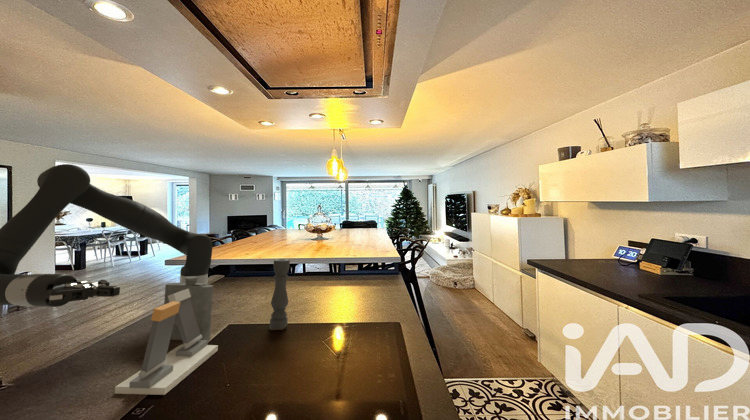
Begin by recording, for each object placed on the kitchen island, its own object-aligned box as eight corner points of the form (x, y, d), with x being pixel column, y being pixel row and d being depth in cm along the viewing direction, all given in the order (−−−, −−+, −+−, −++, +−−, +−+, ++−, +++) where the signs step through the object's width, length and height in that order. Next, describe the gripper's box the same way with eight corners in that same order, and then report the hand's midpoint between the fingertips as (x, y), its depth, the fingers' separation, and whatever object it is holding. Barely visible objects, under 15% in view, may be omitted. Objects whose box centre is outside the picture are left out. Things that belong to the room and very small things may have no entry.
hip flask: (159, 339, 91) (163, 276, 92) (169, 334, 95) (173, 274, 96) (205, 342, 90) (209, 279, 91) (213, 337, 94) (217, 277, 95)
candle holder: (268, 331, 101) (272, 261, 102) (270, 325, 107) (273, 258, 108) (286, 330, 102) (290, 261, 104) (287, 324, 108) (290, 258, 110)
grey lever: (183, 349, 78) (167, 295, 79) (197, 340, 85) (182, 290, 85) (189, 347, 78) (173, 293, 79) (203, 338, 85) (188, 288, 85)
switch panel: (113, 394, 63) (114, 381, 63) (181, 348, 85) (182, 339, 85) (163, 395, 63) (164, 382, 63) (218, 350, 85) (218, 340, 85)
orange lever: (137, 377, 63) (153, 308, 64) (158, 363, 70) (173, 301, 71) (145, 379, 63) (161, 310, 64) (165, 365, 70) (180, 302, 71)
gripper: (8, 280, 61) (90, 281, 61) (73, 269, 74) (140, 270, 74) (6, 315, 60) (88, 316, 61) (71, 297, 74) (139, 299, 74)
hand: (117, 291), depth 67 cm, fingers closed
